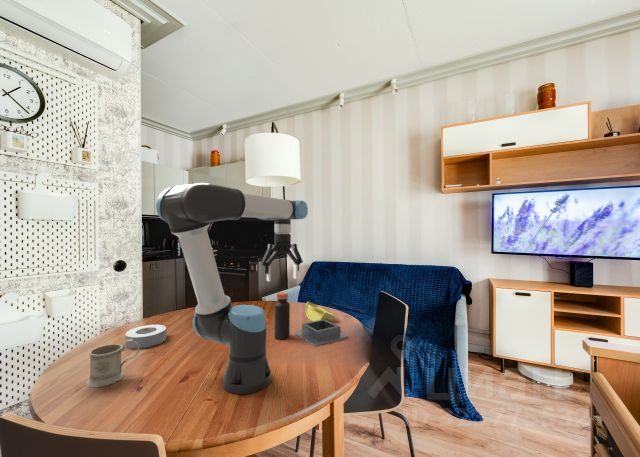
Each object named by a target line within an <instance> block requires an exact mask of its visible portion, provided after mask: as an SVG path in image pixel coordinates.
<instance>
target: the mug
mask: <svg viewBox="0 0 640 457" xmlns="http://www.w3.org/2000/svg"><path fill="white" fill-rule="evenodd" d="M132 340H133V339H128V340H126V341H127V342H126V343H125V342H124V343H123V345H122V344H118V343H115V344H113V343H111V344H106V345H102V346H97V347H96V348H94V349H93V348H92V350H91V351H89V358H90V362H89V364H90V365H89V379H88V380H87V381H86V383H85V384H87V385H86V387H88V386H90V387H89V388H100V386H102V387H106V386H110V385H112V384H114V383H117V382H119V381H120V380H122V379H124V377H125V372H123V370H122V369H123V366H124V365H125V363H126V362H128V361H129V360H131V359H133V358H136V356H137V355H138V354H139V353H140V350H141V348H140V347H139V344H138V343H137V342H135V341H132ZM130 342H132V343H135V344H137V346H138V349H137V351H136V353H135V354H133V356H130V357H128V358H126V359H125V360H123V361H122V352H125V351H126V349H127V347H126V346H125V345H126V344H127V343H130ZM116 381H117V382H116ZM109 384H110V385H109ZM105 385H106V386H105Z"/></svg>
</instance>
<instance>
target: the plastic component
mask: <svg viewBox="0 0 640 457" xmlns="http://www.w3.org/2000/svg"><path fill="white" fill-rule="evenodd" d="M305 314H306V317H307V318H308V319H309V321H310V322H313V321H318V320H322V319H325V320H327V321H329V322H334V321H335V318H336V315H334V314H332V313H331V312H329V311H328V310H326V309H325V308H322V307H321V306H319V305H316V304H314V303H312V302H310V301H307V302H306V304H305Z"/></svg>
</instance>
